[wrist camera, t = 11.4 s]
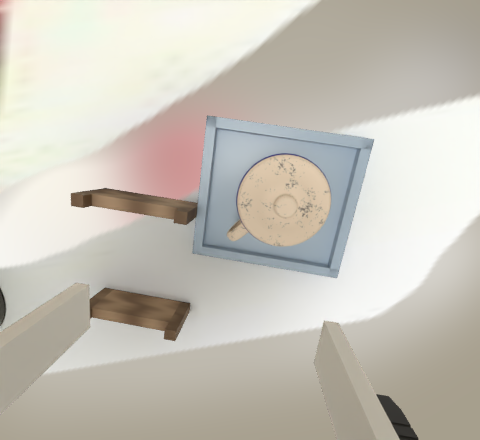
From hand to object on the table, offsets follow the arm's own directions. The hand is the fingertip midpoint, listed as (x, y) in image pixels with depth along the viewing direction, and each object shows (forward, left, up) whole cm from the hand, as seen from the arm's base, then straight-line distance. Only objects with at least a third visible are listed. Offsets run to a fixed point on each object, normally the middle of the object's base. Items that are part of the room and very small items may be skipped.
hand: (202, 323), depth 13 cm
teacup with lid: (+4, +5, -20) cm, 21 cm away
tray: (+4, +5, -21) cm, 22 cm away
